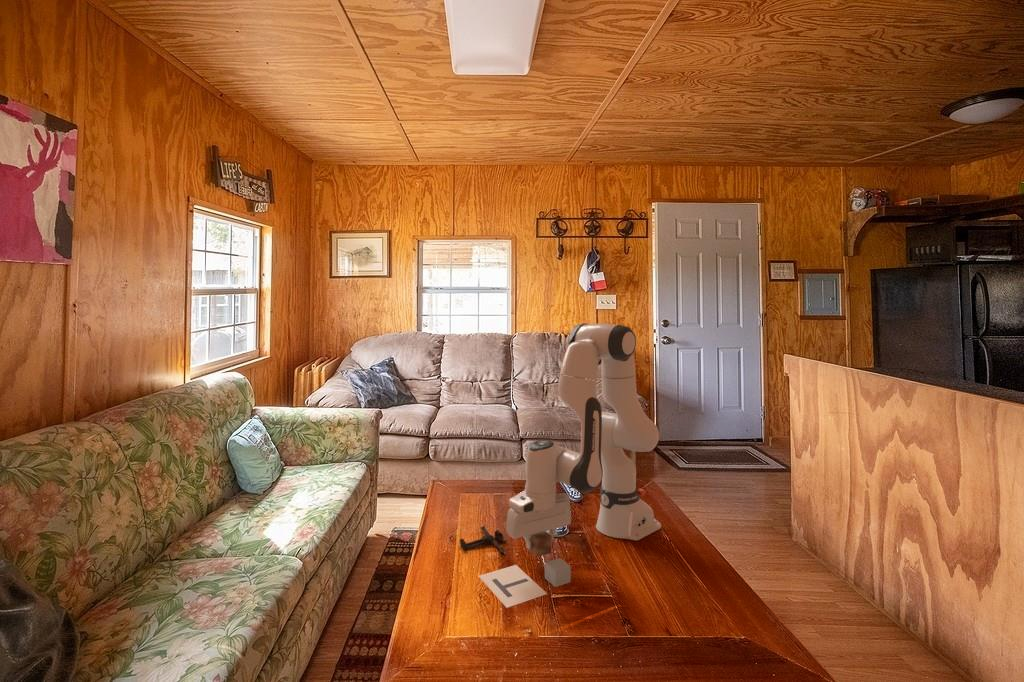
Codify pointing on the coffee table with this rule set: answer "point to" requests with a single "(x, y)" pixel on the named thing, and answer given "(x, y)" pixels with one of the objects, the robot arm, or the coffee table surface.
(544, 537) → the walnut block
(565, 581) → the grey cube
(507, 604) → the letter card
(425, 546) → the coffee table surface
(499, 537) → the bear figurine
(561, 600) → the coffee table surface
